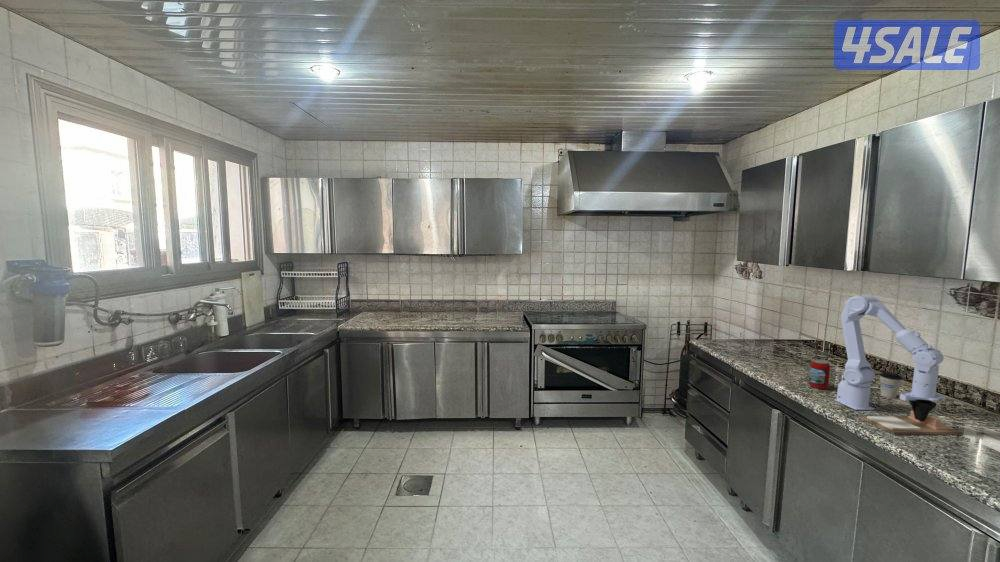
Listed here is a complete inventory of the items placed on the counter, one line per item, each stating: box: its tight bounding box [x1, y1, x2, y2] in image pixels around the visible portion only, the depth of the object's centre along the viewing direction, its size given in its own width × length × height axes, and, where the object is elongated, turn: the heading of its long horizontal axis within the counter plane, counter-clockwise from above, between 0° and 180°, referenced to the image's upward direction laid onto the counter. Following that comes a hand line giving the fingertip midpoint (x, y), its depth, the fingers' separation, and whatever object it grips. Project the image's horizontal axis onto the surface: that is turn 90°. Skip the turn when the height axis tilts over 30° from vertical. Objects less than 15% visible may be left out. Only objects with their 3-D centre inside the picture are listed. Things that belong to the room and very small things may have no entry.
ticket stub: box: [907, 409, 954, 430], centre depth 138 cm, size 9×6×3 cm, turn 2°
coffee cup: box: [879, 371, 903, 399], centre depth 165 cm, size 7×7×10 cm
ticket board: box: [859, 415, 963, 436], centre depth 138 cm, size 12×24×2 cm, turn 92°
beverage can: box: [808, 359, 831, 390], centre depth 175 cm, size 7×7×12 cm
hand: (919, 419), depth 138 cm, fingers closed
